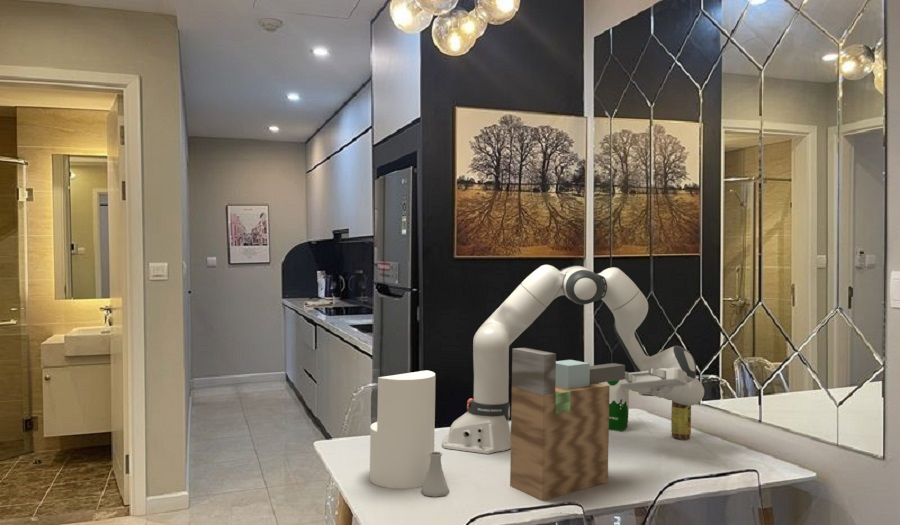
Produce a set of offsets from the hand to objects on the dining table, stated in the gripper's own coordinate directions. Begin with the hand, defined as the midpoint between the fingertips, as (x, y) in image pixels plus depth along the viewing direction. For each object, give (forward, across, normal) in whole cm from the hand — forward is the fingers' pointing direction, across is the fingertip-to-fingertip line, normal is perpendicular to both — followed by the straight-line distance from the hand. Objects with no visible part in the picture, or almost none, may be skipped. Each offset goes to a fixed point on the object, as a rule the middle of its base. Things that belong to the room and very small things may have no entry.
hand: (636, 372), depth 188 cm
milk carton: (-35, +35, -9) cm, 50 cm away
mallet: (+18, +2, -7) cm, 19 cm away
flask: (+50, +23, -40) cm, 68 cm away
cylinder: (+51, +37, -37) cm, 73 cm away
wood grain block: (+20, +9, -34) cm, 40 cm away
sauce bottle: (-44, +14, -11) cm, 47 cm away
